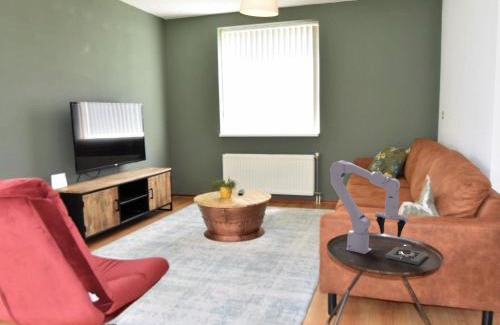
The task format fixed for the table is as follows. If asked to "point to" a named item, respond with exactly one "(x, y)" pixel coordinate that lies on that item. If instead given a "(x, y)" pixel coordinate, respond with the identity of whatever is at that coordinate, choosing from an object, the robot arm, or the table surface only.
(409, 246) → the planet gear
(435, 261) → the table surface
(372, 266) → the table surface
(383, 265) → the table surface
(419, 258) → the carrier plate
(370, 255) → the table surface
